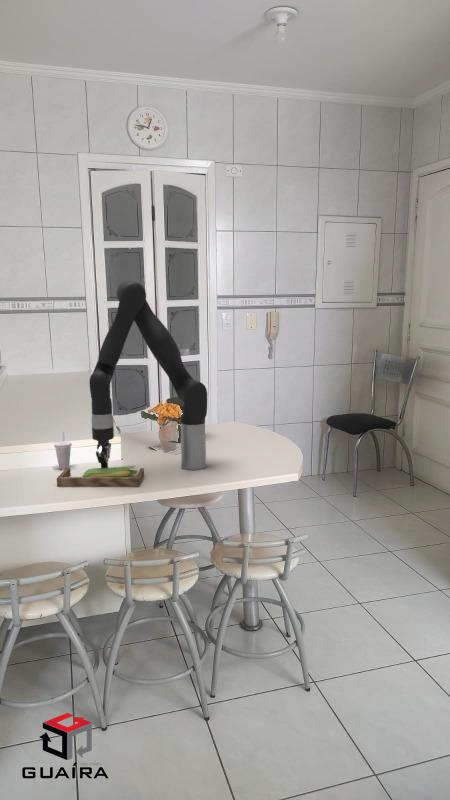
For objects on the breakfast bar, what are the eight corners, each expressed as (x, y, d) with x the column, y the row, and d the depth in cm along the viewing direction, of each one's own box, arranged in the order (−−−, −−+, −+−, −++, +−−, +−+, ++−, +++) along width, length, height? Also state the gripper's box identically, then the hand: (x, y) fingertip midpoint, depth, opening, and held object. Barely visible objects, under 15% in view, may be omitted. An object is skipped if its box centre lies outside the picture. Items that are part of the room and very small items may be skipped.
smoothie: (76, 466, 213) (74, 431, 211) (65, 471, 208) (63, 434, 205) (63, 464, 216) (61, 429, 213) (51, 469, 210) (49, 433, 208)
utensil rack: (144, 476, 202) (143, 468, 201) (138, 486, 191) (138, 478, 190) (67, 475, 202) (66, 467, 202) (57, 486, 191) (56, 478, 191)
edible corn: (81, 469, 197) (83, 469, 193) (137, 464, 204) (140, 464, 200) (82, 484, 196) (83, 484, 192) (138, 478, 204) (141, 479, 199)
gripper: (108, 430, 192) (110, 478, 195) (117, 421, 205) (119, 466, 208) (87, 430, 192) (89, 478, 195) (96, 421, 205) (99, 466, 208)
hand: (104, 472), depth 201 cm, fingers closed
